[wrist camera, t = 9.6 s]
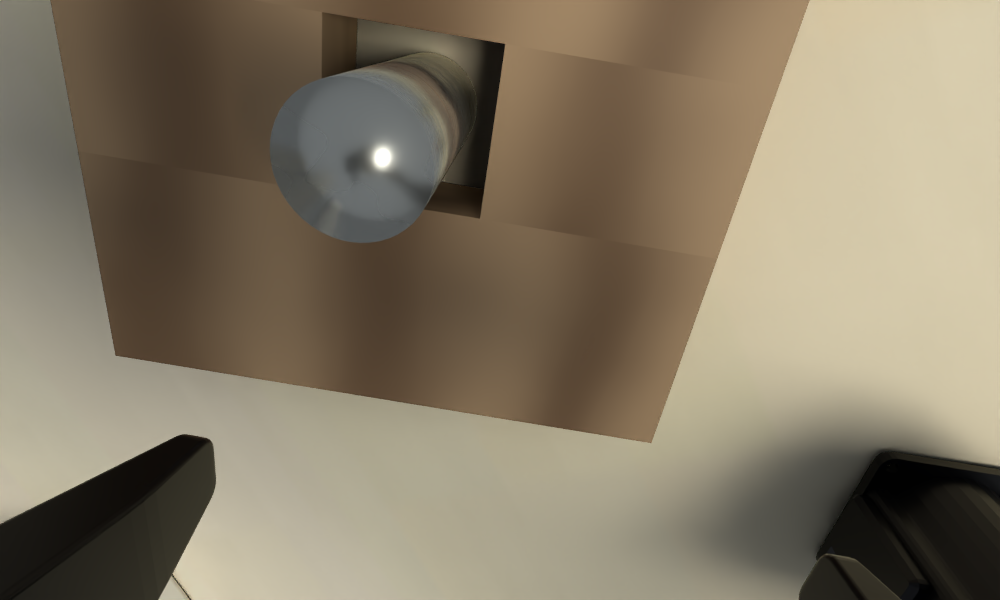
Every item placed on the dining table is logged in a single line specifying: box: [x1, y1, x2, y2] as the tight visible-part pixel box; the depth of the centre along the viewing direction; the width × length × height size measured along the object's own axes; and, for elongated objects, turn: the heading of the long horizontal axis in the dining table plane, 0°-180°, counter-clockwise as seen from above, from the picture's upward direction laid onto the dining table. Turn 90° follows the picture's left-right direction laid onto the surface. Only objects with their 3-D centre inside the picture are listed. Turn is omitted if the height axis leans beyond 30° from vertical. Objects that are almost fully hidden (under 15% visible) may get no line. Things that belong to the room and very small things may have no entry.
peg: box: [270, 52, 477, 243], centre depth 14 cm, size 3×3×8 cm
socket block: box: [50, 0, 809, 443], centre depth 16 cm, size 18×18×3 cm
